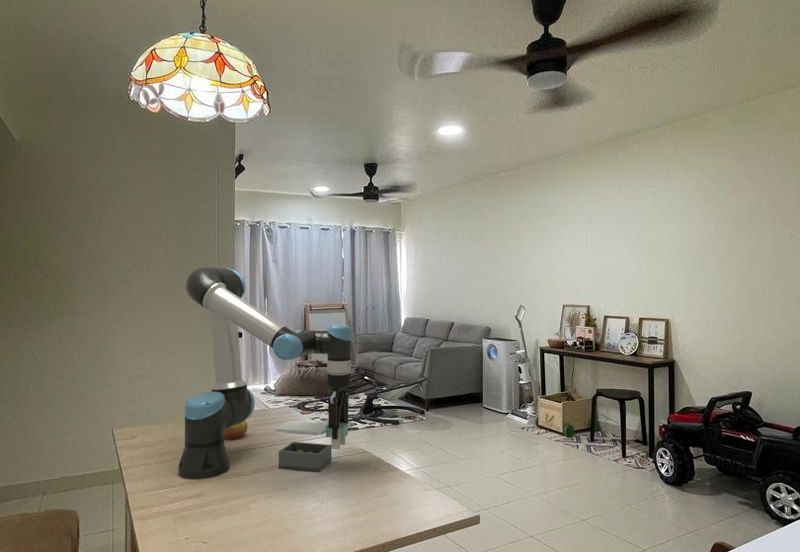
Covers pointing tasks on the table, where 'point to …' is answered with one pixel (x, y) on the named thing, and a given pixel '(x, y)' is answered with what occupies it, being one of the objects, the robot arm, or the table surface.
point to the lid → (311, 428)
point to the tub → (305, 457)
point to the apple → (236, 431)
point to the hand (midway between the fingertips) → (338, 446)
